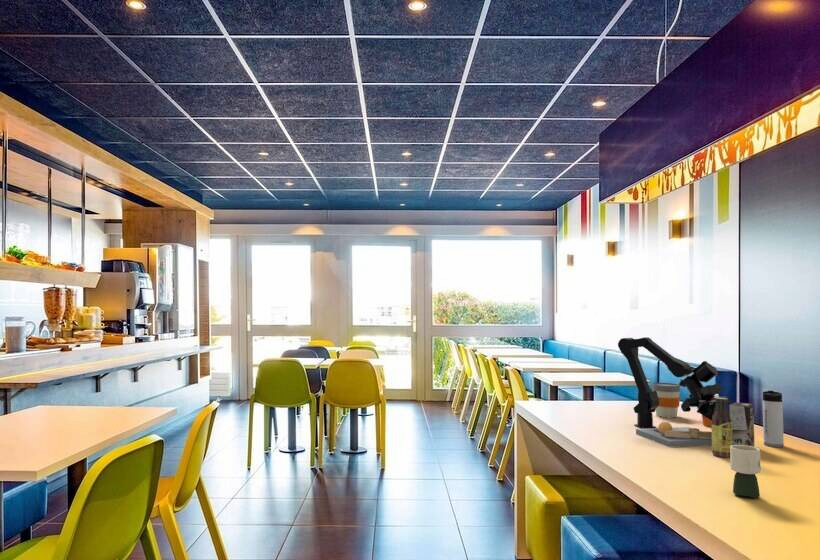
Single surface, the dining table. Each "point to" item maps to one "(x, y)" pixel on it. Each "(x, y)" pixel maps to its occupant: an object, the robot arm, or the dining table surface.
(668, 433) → the lever
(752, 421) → the coffee box
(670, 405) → the reusable coffee cup
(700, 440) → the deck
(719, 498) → the dining table surface
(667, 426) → the ball
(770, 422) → the travel mug
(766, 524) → the dining table surface
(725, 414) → the sauce bottle
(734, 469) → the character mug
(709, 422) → the paper cup
